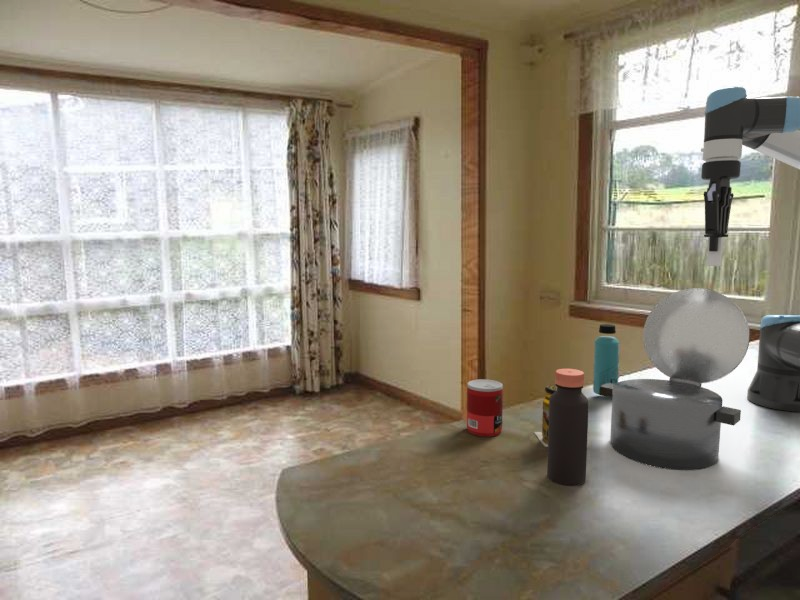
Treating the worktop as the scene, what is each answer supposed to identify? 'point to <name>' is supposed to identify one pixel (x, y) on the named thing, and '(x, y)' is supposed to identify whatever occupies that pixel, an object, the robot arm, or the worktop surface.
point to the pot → (667, 422)
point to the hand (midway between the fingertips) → (714, 265)
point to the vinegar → (568, 429)
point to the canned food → (484, 407)
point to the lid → (696, 336)
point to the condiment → (546, 415)
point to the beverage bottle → (606, 358)
